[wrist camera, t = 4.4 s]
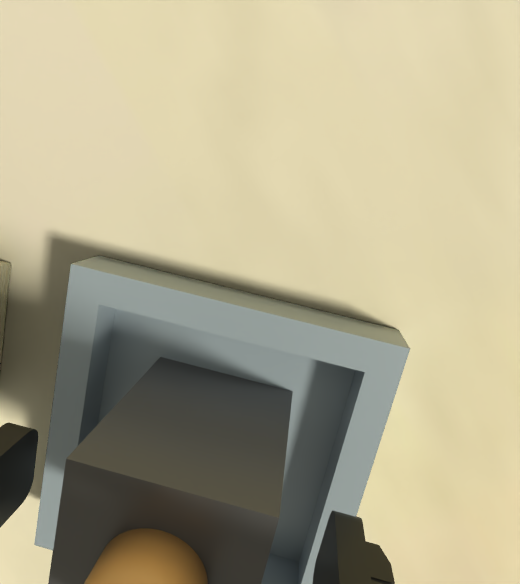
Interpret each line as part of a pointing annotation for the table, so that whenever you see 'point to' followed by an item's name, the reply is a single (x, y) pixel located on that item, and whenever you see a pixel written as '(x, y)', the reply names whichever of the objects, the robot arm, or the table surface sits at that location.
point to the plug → (176, 483)
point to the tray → (238, 362)
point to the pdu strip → (3, 298)
